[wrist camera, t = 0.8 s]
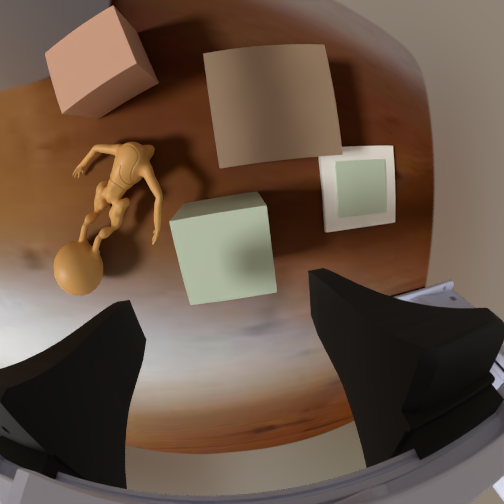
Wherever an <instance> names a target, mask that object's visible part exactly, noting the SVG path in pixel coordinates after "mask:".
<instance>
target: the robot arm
mask: <svg viewBox="0 0 504 504" xmlns="http://www.w3.org/2000/svg"><path fill="white" fill-rule="evenodd" d="M308 273H309V288H310V305H311V316H312V319H313V322H314V325H315V328H316V331H317V334H318V336H319V338H320V340H321V342H322V344H323V346H324V348H325V350H326V352H327V354H328V356H329V358H330V360H331V362H332V364H333V366H334V367H335V369H336V371H337V373H338V375H339V378H340V380H341V382H342V384H343V387H344V390H345V393H346V396H347V399H348V402H349V405H350V408H351V411H352V414H353V417H354V420H355V424H356V427H357V431H358V434H359V438H360V442H361V445H362V449H363V453H364V458H365V462H366V467H367V468H365V469H363V470H359V471H357V472H353V473H351V474H347V475H344V476H340V477H337V478H333V479H330V480H326V481H322V482H318V483H313V484H309V485H304V486H300V487H294V488H288V489H283V490H277V491H269V492H262V493H252V494H241V495H221V496H188V495H170V494H159V493H149V492H142V491H134V490H128V489H127V486H126V474H125V440H126V427H127V419H128V412H129V407H130V402H131V399H132V395H133V392H134V388H135V385H136V382H137V378H138V375H139V372H140V368H141V365H142V362H143V357H144V351H145V344H146V338H145V336H144V334H143V331H142V329H141V327H140V324H139V322H138V320H137V317H136V315H135V312H134V310H133V307H132V305H131V302H130V300H127V301H119V302H116V303H114V304H112V305H110V306H109V307H107V308H106V309H104V310H103V311H101V312H100V313H99V314H97V315H96V316H95V317H93V318H92V319H91V320H89V321H88V322H87V323H85V324H84V325H83V326H81V327H80V328H78V329H77V330H76V331H74V332H73V333H71V334H70V335H69V336H67V337H66V338H64V339H63V340H61V341H60V342H58V343H57V344H55V345H53V346H51V347H50V348H48V349H46V350H45V351H43V352H41V353H39V354H37V355H34V356H32V357H30V358H28V359H26V360H24V361H22V362H19V363H17V364H14V365H11V366H8V367H5V368H2V369H0V504H470V503H472V502H473V501H474V500H475V499H477V498H478V497H479V496H480V495H482V494H483V493H484V492H486V491H487V490H488V489H489V488H490V487H492V486H493V488H494V489H495V490H496V492H497V493H498V494H499V496H500V497H501V498H502V500H503V501H504V345H503V341H504V322H503V321H502V320H501V319H500V318H498V317H497V316H496V315H495V314H494V313H493V312H491V311H490V310H489V309H488V308H475V307H474V306H472V305H471V304H470V303H469V302H467V301H466V300H465V299H464V298H462V297H461V296H460V295H459V294H458V293H456V292H455V291H454V290H453V287H454V282H453V281H452V280H449V281H446V282H442V283H439V284H436V285H433V286H430V287H426V288H423V289H419V290H416V291H412V292H409V293H405V294H402V295H398V296H394V297H391V296H387V295H384V294H382V293H379V292H376V291H374V290H371V289H369V288H366V287H364V286H362V285H359V284H357V283H355V282H353V281H351V280H348V279H346V278H344V277H342V276H340V275H338V274H336V273H334V272H332V271H330V270H327V269H325V268H321V269H316V270H311V271H308Z"/></svg>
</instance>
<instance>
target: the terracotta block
mask: <svg viewBox="0 0 504 504" xmlns="http://www.w3.org/2000/svg"><path fill="white" fill-rule="evenodd" d="M45 56H46V60H47V64H48V68H49V72H50V76H51V79H52V83H53V86H54V90H55V93H56V96H57V100H58V103H59V106H60V109H61V112H62V114H68V115H75V116H82V117H88V118H94V119H100V118H101V117H103V116H104V115H106V114H107V113H109V112H110V111H112V110H113V109H115V108H116V107H118V106H120V105H121V104H123V103H125V102H126V101H128V100H130V99H131V98H133V97H135V96H137V95H138V94H140V93H142V92H144V91H145V90H147V89H149V88H151V87H153V86H155V85H157V84H159V82H158V80H157V77H156V75H155V73H154V71H153V68H152V66H151V64H150V62H149V59H148V57H147V55H146V52H145V50H144V48H143V45H142V43H141V41H140V39H139V36H138V34H137V32H136V31H135V30H134V29H133V28H132V26H131V25H130V24H129V23H128V22H127V21H126V19H125V18H124V17H123V16H122V15H121V14H120V13H119V11H118V10H117V9H116V8H115V7H114V6H111V7H109V8H108V9H106V10H104V11H103V12H101V13H100V14H98V15H96V16H95V17H93V18H92V19H90V20H89V21H87V22H86V23H84V24H83V25H81V26H80V27H78V28H77V29H76V30H74V31H73V32H71V33H70V34H69V35H67V36H66V37H65V38H64V39H62V40H61V41H60V42H58V43H57V44H56V45H55V46H53V47H52V48H51V49H50V50H49V51H47V52H46V53H45Z"/></svg>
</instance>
